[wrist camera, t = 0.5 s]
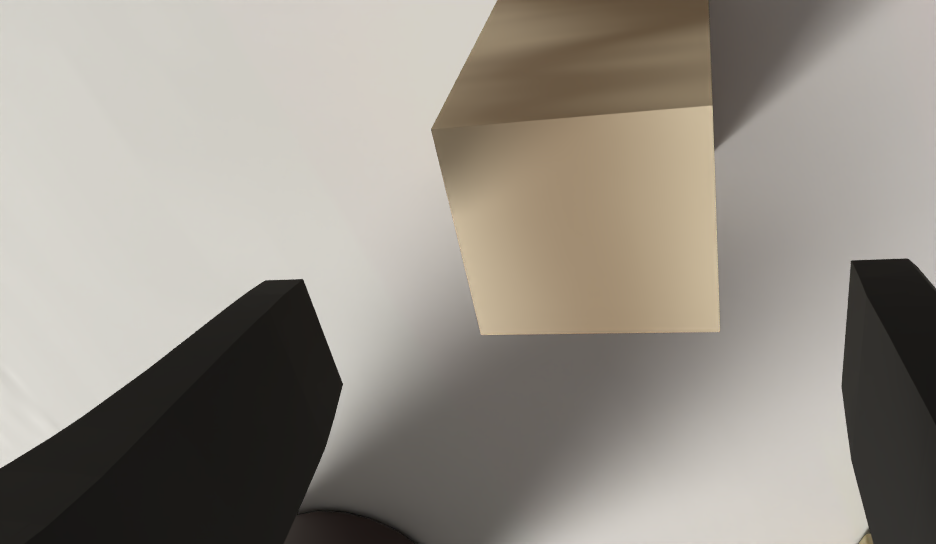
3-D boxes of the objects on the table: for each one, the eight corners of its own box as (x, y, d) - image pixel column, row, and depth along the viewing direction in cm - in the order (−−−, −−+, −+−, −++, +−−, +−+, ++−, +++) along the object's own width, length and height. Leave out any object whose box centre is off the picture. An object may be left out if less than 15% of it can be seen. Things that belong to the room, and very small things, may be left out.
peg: (707, -36, 16) (712, 105, 11) (713, 150, 18) (719, 331, 14) (502, -10, 17) (430, 129, 13) (531, 163, 19) (481, 334, 15)
